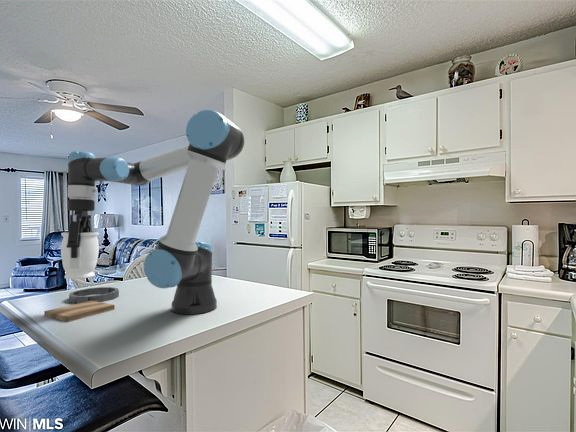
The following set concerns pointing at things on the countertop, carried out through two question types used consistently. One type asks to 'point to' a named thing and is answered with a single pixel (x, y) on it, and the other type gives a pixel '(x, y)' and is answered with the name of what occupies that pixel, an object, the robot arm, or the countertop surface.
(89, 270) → the jar
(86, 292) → the collar
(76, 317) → the board
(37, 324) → the countertop surface
